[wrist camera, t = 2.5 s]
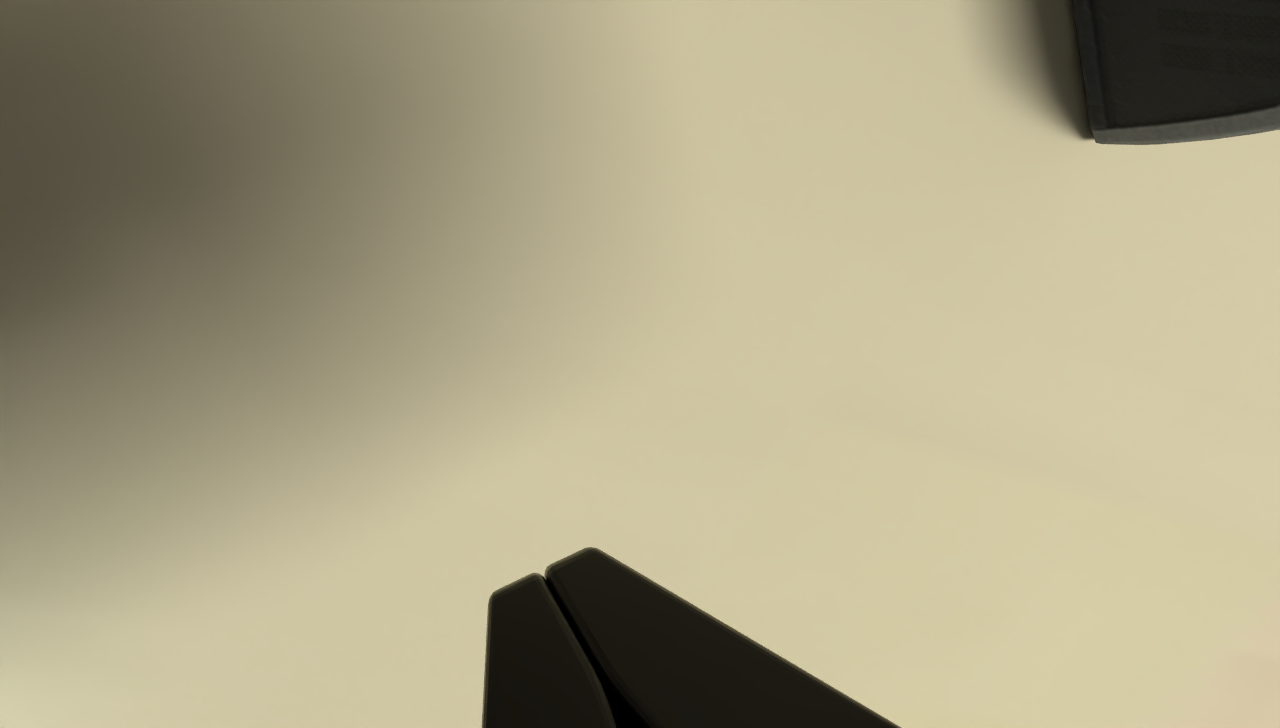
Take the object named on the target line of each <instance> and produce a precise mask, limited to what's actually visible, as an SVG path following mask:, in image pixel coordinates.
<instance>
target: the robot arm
mask: <svg viewBox="0 0 1280 728" xmlns="http://www.w3.org/2000/svg"><path fill="white" fill-rule="evenodd" d="M544 577H545V578H544ZM544 577H543V576H542V575H541V574H539V573H532V574H530V575H527V576H525V577H523V578H521V579H519V580H517V581H515V582H513V583H511V584H509V585H507V586H504V587H502V588H500V589H498V590H496V591H495V592H493V593H492V595H491V596H490V599H489V603H488V617H487V636H486V656H485V675H484V695H483V714H482V728H901V727H899V726H898V725H896V724H894V723H893V722H891V721H889V720H887V719H886V718H884V717H882V716H881V715H879V714H877V713H876V712H874V711H872V710H871V709H869V708H867V707H865V706H864V705H862V704H860V703H859V702H857V701H855V700H854V699H852V698H850V697H848V696H847V695H845V694H843V693H842V692H840V691H838V690H837V689H835V688H833V687H832V686H830V685H828V684H826V683H825V682H823V681H821V680H820V679H818V678H816V677H815V676H813V675H811V674H810V673H808V672H806V671H804V670H803V669H801V668H799V667H798V666H796V665H794V664H793V663H791V662H789V661H788V660H786V659H784V658H782V657H781V656H779V655H777V654H776V653H774V652H772V651H771V650H769V649H767V648H765V647H764V646H762V645H760V644H759V643H757V642H755V641H754V640H752V639H750V638H749V637H747V636H745V635H743V634H742V633H740V632H738V631H737V630H735V629H733V628H732V627H730V626H728V625H727V624H725V623H723V622H721V621H720V620H718V619H716V618H715V617H713V616H711V615H710V614H708V613H706V612H705V611H703V610H701V609H699V608H698V607H696V606H694V605H693V604H691V603H689V602H688V601H686V600H684V599H682V598H681V597H679V596H677V595H676V594H674V593H672V592H671V591H669V590H667V589H666V588H664V587H662V586H660V585H659V584H657V583H655V582H654V581H652V580H650V579H649V578H647V577H645V576H644V575H642V574H640V573H638V572H637V571H635V570H633V569H632V568H630V567H628V566H627V565H625V564H623V563H621V562H620V561H618V560H616V559H615V558H613V557H611V556H610V555H608V554H606V553H605V552H603V551H601V550H599V549H597V548H593V547H588V548H584V549H582V550H580V551H578V552H576V553H574V554H572V555H570V556H568V557H565V558H563V559H561V560H559V561H557V562H555V563H553V564H551V565H549V566H548V567H547V569H546V570H545V576H544Z"/></svg>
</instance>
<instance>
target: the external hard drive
mask: <svg viewBox="0 0 1280 728" xmlns="http://www.w3.org/2000/svg"><path fill="white" fill-rule="evenodd" d="M1073 5H1074V14H1075V23H1076V28H1077V34H1078V39H1079V50H1080V56H1081V62H1082V69H1083V78H1084V88H1085V94H1086V99H1087V107H1088V119H1089V126H1090V128H1091V129H1092V133H1093V136H1094V139H1095V142H1096V143H1100V144H1127V145H1149V144H1167V143H1179V142H1191V141H1202V140H1213V139H1220V138H1228V137H1235V136H1242V135H1249V134H1256V133H1262V132H1268V131H1274V130H1279V129H1280V0H1073Z"/></svg>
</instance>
